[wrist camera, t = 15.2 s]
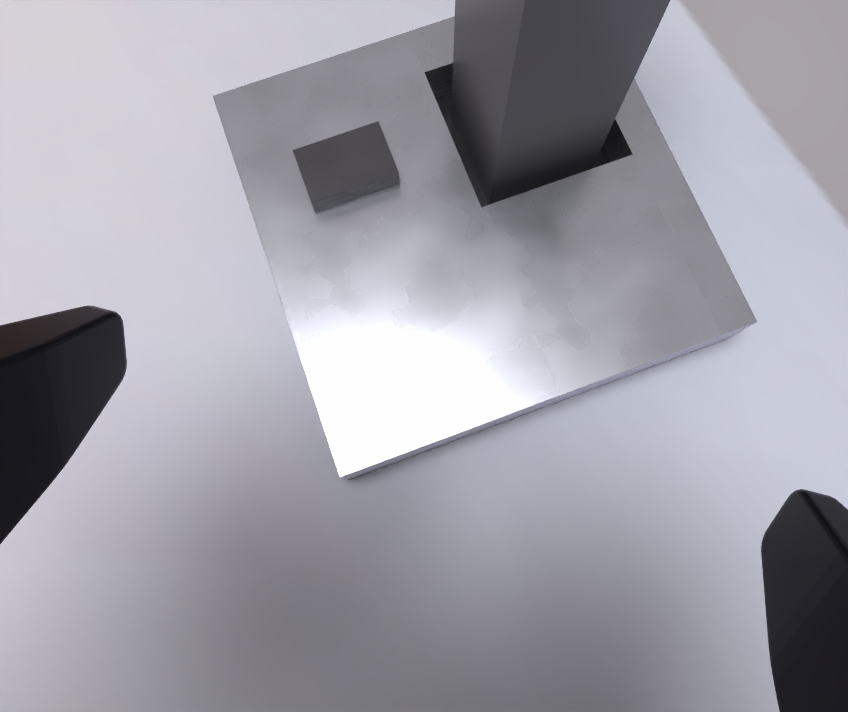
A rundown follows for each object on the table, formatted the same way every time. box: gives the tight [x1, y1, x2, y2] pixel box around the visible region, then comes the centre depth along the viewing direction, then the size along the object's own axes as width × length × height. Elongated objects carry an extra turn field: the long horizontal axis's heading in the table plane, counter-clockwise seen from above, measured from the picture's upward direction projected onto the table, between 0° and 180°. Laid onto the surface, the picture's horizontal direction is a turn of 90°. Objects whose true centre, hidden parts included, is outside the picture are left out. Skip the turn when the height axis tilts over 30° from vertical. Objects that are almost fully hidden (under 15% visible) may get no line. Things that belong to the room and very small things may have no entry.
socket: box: [213, 17, 757, 480], centre depth 22 cm, size 14×14×3 cm
